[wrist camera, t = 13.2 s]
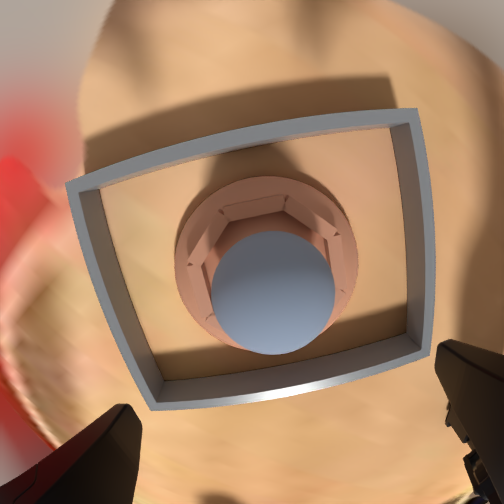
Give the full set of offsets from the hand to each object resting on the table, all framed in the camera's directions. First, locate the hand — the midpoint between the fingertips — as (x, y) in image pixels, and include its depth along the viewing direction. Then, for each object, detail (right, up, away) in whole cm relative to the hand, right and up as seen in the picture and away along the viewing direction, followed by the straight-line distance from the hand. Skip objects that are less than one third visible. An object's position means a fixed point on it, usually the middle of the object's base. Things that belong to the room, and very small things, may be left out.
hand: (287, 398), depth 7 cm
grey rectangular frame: (0, +3, +11) cm, 11 cm away
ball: (0, +2, +7) cm, 8 cm away
